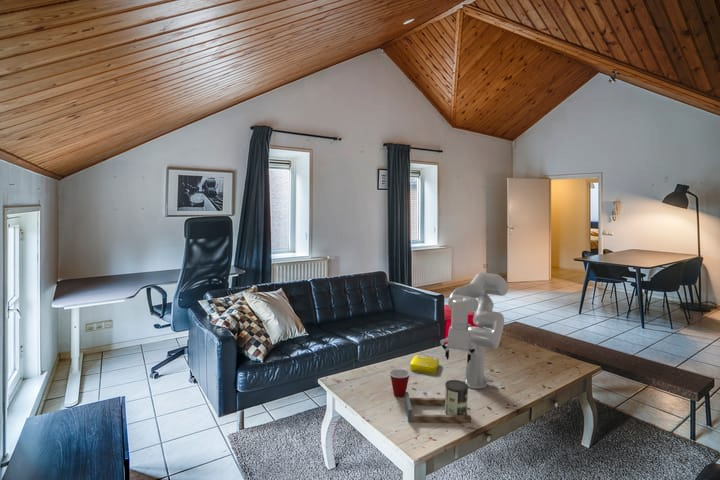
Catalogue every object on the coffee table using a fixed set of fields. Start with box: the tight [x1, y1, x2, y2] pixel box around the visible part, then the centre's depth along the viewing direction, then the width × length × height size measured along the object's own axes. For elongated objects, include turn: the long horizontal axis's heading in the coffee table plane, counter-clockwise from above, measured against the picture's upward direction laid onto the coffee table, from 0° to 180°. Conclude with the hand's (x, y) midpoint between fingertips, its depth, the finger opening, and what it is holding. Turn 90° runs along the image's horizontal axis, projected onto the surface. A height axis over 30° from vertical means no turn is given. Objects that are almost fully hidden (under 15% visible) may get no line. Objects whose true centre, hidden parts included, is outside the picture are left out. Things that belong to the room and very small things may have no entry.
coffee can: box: [444, 379, 469, 415], centre depth 179 cm, size 10×10×14 cm
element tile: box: [409, 354, 440, 375], centre depth 229 cm, size 15×15×5 cm
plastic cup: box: [388, 368, 411, 398], centre depth 196 cm, size 11×11×12 cm
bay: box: [404, 391, 472, 424], centre depth 180 cm, size 28×16×6 cm, turn 89°
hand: (457, 360), depth 185 cm, fingers open, 9 cm apart
